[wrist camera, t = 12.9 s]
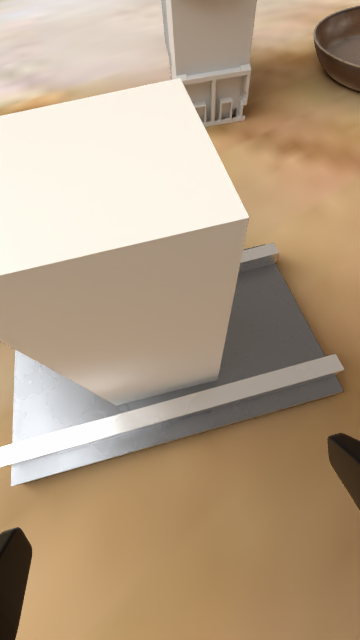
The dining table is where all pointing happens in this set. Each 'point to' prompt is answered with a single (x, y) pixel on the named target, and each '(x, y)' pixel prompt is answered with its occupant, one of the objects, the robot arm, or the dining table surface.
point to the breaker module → (118, 241)
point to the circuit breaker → (211, 54)
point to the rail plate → (181, 405)
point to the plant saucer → (340, 46)
